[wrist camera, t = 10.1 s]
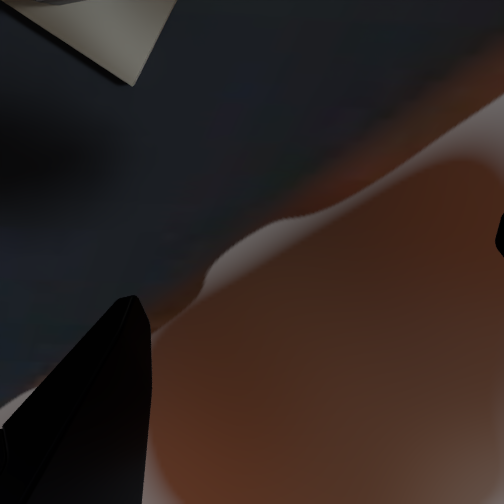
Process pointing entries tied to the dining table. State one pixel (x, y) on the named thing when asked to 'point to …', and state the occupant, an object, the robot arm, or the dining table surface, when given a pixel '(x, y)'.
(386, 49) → the dining table surface
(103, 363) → the robot arm
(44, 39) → the dining table surface
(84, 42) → the collar
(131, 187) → the dining table surface
